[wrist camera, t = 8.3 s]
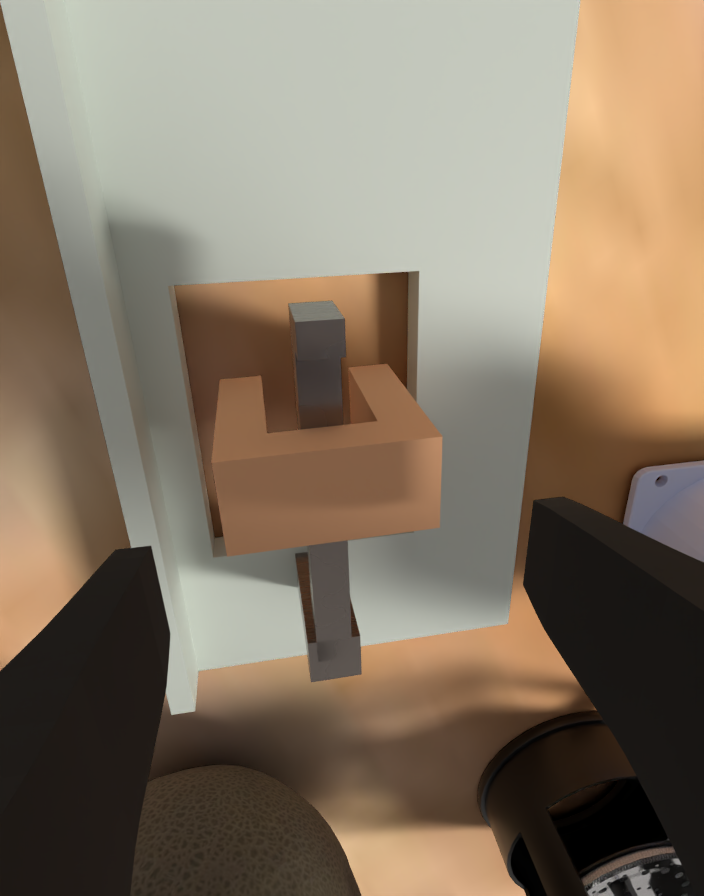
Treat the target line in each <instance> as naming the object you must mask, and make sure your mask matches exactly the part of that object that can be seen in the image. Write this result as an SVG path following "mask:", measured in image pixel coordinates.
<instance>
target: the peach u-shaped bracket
mask: <svg viewBox="0 0 704 896" xmlns="http://www.w3.org/2000/svg"><path fill="white" fill-rule="evenodd" d="M348 375H349V396H350V418H351V424H348V425H338V426H329V427H320V428H311V429H301V430H292V431H283V432H274V433H268V431H267V422H266V413H265V405H264V396H263V388H262V379H261V376H251V377H240V378H230V379H220V381H219V391H218V401H217V411H216V421H215V431H214V441H213V451H212V461H211V464H212V470H213V476H214V482H215V488H216V494H217V500H218V506H219V512H220V518H221V524H222V530H223V535H224V541H225V547H226V553H227V557H228V556H236V555H243V554H250V553H258V552H265V551H272V550H280V549H287V548H295V547H302V546H309V545H317V544H324V543H331V542H339V541H346V540H353V539H361V538H368V537H375V536H383V535H390V534H397V533H405V532H412V531H419V530H427V529H434V528H440V504H441V471H442V438H443V436H442V435H441V434H440V432H439V431H438V430H437V429H436V427H435V426H434V425H433V423H432V422H431V421H430V419H429V418H428V417H427V415H426V414H425V413H424V411H423V410H422V409H421V407H420V406H419V405H418V404H417V402H416V401H415V400H414V398H413V397H412V396H411V394H410V393H409V392H408V390H407V389H406V388H405V386H404V385H403V384H402V383H401V381H400V380H399V379H398V377H397V376H396V375H395V373H394V372H393V371H392V369H391V368H390V367H389V365H388V364H378V365H367V366H357V367H348Z"/></svg>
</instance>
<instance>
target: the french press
mask: <svg viewBox="0 0 704 896" xmlns="http://www.w3.org/2000/svg"><path fill="white" fill-rule="evenodd" d="M615 780H619V781H618V783H617V784H616V785H615V787H614V788H613V789H612V790H611V791H610V792H609V793H608V794H607V795H606V796H605V797H604V798H602V799H601V800H600V801H599V802H597V803H596V804H594V805H593V806H591V807H589V808H588V809H586V810H584V811H582V812H580V813H578V814H575V815H573V816H570V817H567V818H564V819H560V820H555V821H553V819H552V817H551V815H550V813H549V811H548V808H550V807H551V806H553V805H555V804H556V803H558V802H559V801H561V800H562V799H564V798H566V797H568V796H570V795H572V794H575V793H577V792H579V791H581V790H584V789H587V788H589V787H592V786H595V785H598V784H602V783H606V782H611V781H615ZM478 805H479V808H480V811H481V814H482V817H483V818H484V820H485V821H486V822H487V824H488V825H489V826H490V827H491V828H492V831H493V834H494V836H495V839H496V841H497V844H498V847H499V849H500V852H501V855H502V857H503V860H504V862H505V865H506V868H507V870H508V873H509V876H510V877H511V878H512V880H513V881H514V882H515V883H516V884H517V885H518V886H520V887H521V888H523V889H524V891H525V893H526V896H696V894H695V892H694V890H693V888H692V885H691V883H690V881H689V879H688V877H687V875H686V873H685V870H684V868H683V866H682V864H681V862H680V860H679V858H678V856H677V854H676V852H675V850H674V848H673V846H672V844H671V842H670V840H669V838H668V836H667V834H666V832H665V830H664V828H663V826H662V824H661V822H660V820H659V818H658V816H657V814H656V812H655V810H654V808H653V806H652V804H651V802H650V801H649V799H648V797H647V795H646V793H645V791H644V789H643V787H642V786H641V784H640V782H639V780H638V778H637V776H636V774H635V772H634V770H633V769H632V767H631V765H630V763H629V761H628V759H627V757H626V755H625V754H624V752H623V750H622V749H621V747H620V745H619V744H618V742H617V740H616V739H615V737H614V735H613V734H612V732H611V730H610V729H609V727H608V726H607V724H606V723H605V721H604V720H603V718H602V717H601V715H600V714H599V712H583V713H575V714H571V715H566V716H561V717H558V718H556V719H553V720H550V721H547V722H544V723H542V724H540V725H538V726H536V727H534V728H532V729H530V730H528V731H526V732H525V733H523V734H522V735H520V736H519V737H517V738H516V739H514V740H513V741H511V742H510V743H509V744H508V745H507V746H506V747H505V748H503V749H502V750H501V751H500V752H499V753H498V754H497V755H496V756H495V758H494V759H493V760H492V761H491V762H490V764H489V765H488V767H487V768H486V770H485V772H484V774H483V775H482V777H481V780H480V784H479V787H478Z"/></svg>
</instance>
